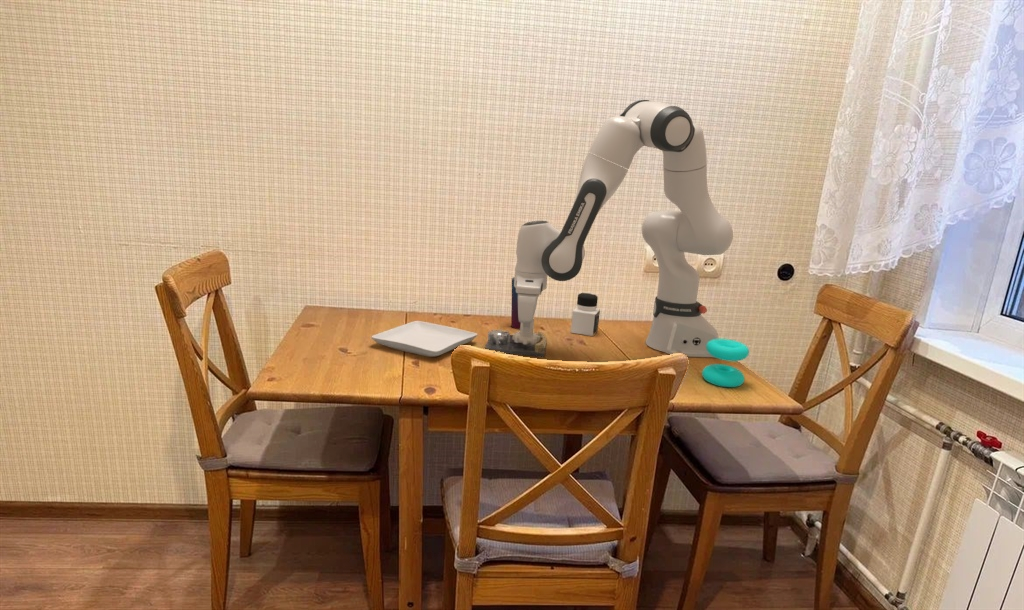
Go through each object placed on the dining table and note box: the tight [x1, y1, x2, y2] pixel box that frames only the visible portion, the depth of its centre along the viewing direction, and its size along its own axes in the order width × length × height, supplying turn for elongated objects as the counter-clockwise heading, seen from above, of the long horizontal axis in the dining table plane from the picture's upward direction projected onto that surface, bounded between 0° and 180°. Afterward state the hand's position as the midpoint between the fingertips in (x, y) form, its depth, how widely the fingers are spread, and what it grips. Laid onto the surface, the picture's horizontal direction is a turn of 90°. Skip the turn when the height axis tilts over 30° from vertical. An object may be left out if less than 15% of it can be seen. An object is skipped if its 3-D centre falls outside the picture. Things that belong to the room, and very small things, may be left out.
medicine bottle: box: [570, 292, 601, 337], centre depth 184 cm, size 7×7×12 cm
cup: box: [510, 276, 521, 330], centre depth 184 cm, size 7×7×15 cm
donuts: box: [701, 338, 750, 388], centre depth 150 cm, size 10×10×10 cm
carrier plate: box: [484, 329, 547, 358], centre depth 166 cm, size 16×14×4 cm
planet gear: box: [512, 318, 540, 344], centre depth 165 cm, size 8×8×6 cm
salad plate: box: [371, 320, 479, 358], centre depth 163 cm, size 21×21×3 cm
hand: (526, 330), depth 165 cm, fingers closed on planet gear, 3 cm apart
